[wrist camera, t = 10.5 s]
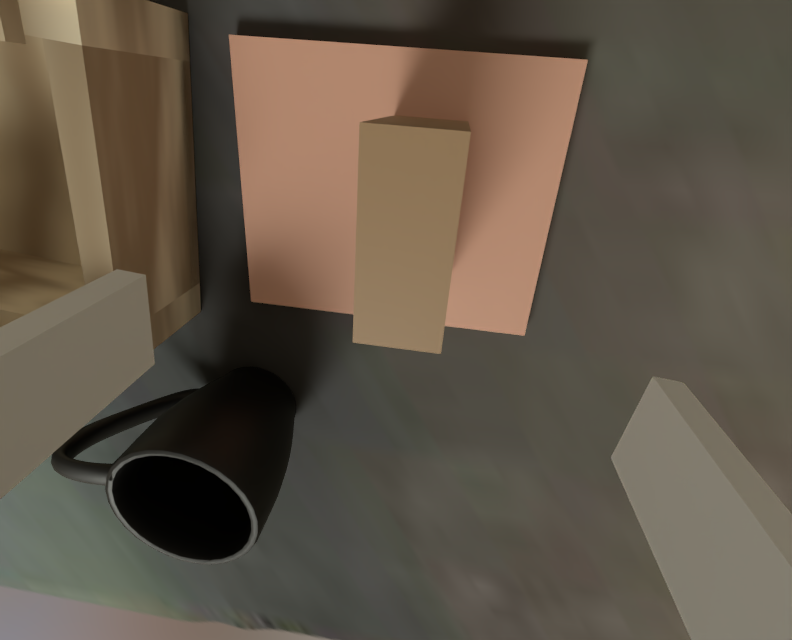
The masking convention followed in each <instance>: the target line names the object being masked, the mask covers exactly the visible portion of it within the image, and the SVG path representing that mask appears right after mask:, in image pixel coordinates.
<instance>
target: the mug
mask: <svg viewBox="0 0 792 640" xmlns="http://www.w3.org/2000/svg"><path fill="white" fill-rule="evenodd" d="M295 413H296V403H295V399H294V396H293V394H292V392H291V390H290V389H289V387H288V386H287V385H286V384H285V382H283V381H282V380H281V379H280V378H279V377H277V376H276V375H274V374H272V373H271V372H269V371H266V370H263V369H260V368H254V367H243V368H239V369H235V370H233V371H231V372H229V373H228V374H226V375H225V376H223V377H221V378H219V379H217V380H215V381H213V382H211V383H209V384H207V385H205V386H204V387H202V388H200V389H190V390H185V391H181V392H177V393H174V394H170V395H167V396H164V397H161V398H158V399H155V400H153V401H150V402H147V403H144V404H141V405H138V406H136V407H133V408H130V409H127V410H125V411H122V412H119V413H117V414H114V415H111V416H109V417H106V418H103V419H101V420H98V421H96V422H94V423H91V424H89V425H87V426H85V427H83V428H81V429H80V430H79V431H78V432H76V433H75V434H74V435H73V436H72V437H71V438H70V439H68V440H67V441H66V442H65V443H64V444H63V445H62V446H60V447H59V448H58V449H57V450H56V451H55V452H54V453H53V454H52V459H51V464H52V466H53V468H54V470H55V471H56V472H58V473H59V474H61V475H62V476H64V477H66V478H69V479H72V480H75V481H79V482H84V483H90V484H96V485H106V489H105V490H106V494H107V498H108V502H109V504H110V506H111V508H112V510H113V512H114V514H115V515H116V517H117V518H118V519H119V520H120V522H121V523H122V524H123V525H124V527H125V528H127V529H128V530H129V531H130V532H131V533H132V534H133V535H134V536H135V537H136V538H138V539H139V540H141V541H142V542H144V543H145V544H147V545H148V546H150V547H151V548H153V549H155V550H157V551H159V552H161V553H163V554H165V555H168V556H171V557H173V558H176V559H179V560H182V561H187V562H192V563H196V564H211V565H212V564H221V563H227V562H230V561H233V560H236V559H239V558H240V557H242V556H243V555H245V554H246V553H248V552H249V551H250V549H251V548H252V547H253V546H254V544H255V543H256V542H257V540H258V538H259V536H260V533H261V531H262V529H263V527H264V525H265V523H266V521H267V519H268V516H269V514H270V512H271V510H272V508H273V505H274V503H275V501H276V499H277V497H278V494H279V491H280V488H281V485H282V482H283V479H284V476H285V473H286V469H287V465H288V461H289V457H290V452H291V446H292V438H293V428H294V417H295ZM155 418H157V419H156V420H155V421H154V422H153V423H152V424H151V425H150V426H149V427H148V428H147V429H146V430H145V431H144V432H143V433H142V434H141V435H140V436H139V437H138V438H137V439H136V440H135V441H134V443H133V444H132V445H131V446H130V447H129V448H128V449H127V450H126V451H125V452H124V453H123V454H122V455H121V456H120V457H119V458H118V459H117V460H116V461H115V462H114V463H113V464H103V463H91V462H84V461H79V460H76V459H73V458H74V457H76V456H77V455H78V454H79V453H81V452H82V451H84V450H85V449H87V448H88V447H90V446H92V445H94V444H96V443H98V442H100V441H102V440H104V439H106V438H108V437H110V436H113V435H115V434H117V433H120V432H122V431H124V430H127V429H129V428H132V427H134V426H137V425H139V424H142V423H144V422H147V421H150V420H152V419H155Z"/></svg>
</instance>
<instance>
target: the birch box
mask: <svg viewBox="0 0 792 640" xmlns="http://www.w3.org/2000/svg"><path fill="white" fill-rule="evenodd" d="M116 269H119V270H124V271H129V272H134V273H139V274H144V275H146V283H147V292H148V302H149V312H150V322H151V331H152V341H153V349H155V348H156V347H157V346H158V345H160V344H161V343H162V342H163V341H165V340H166V339H167V338H168V337H170V336H171V335H172V334H173V333H175V332H176V331H177V330H178V329H180V328H181V327H182V326H183V325H185V324H186V323H187V322H188V321H190V320H191V319H192V318H193V317H195V316H196V315H197V314H198V313H200V312H201V300H200V278H199V255H198V233H197V210H196V188H195V165H194V143H193V120H192V98H191V75H190V53H189V30H188V13H185V12H182V11H179V10H176V9H173V8H170V7H166V6H163V5H160V4H157V3H154V2H151V1H148V0H0V327H2V326H4V325H6V324H8V323H10V322H12V321H14V320H16V319H18V318H20V317H22V316H24V315H26V314H28V313H30V312H32V311H34V310H36V309H38V308H40V307H42V306H44V305H46V304H48V303H50V302H52V301H54V300H56V299H58V298H60V297H62V296H64V295H66V294H68V293H70V292H72V291H74V290H76V289H78V288H80V287H82V286H84V285H86V284H88V283H90V282H92V281H94V280H96V279H98V278H100V277H102V276H104V275H106V274H108V273H110V272H112V271H114V270H116Z"/></svg>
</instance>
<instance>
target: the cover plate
mask: <svg viewBox="0 0 792 640" xmlns="http://www.w3.org/2000/svg"><path fill="white" fill-rule="evenodd" d="M229 43H230V55H231V67H232V79H233V91H234V103H235V115H236V127H237V139H238V151H239V163H240V175H241V186H242V198H243V210H244V222H245V234H246V246H247V258H248V270H249V282H250V294H251V302H258V303H266V304H274V305H282V306H290V307H298V308H306V309H314V310H322V311H330V312H338V313H346V314H354V317H353V343H361V344H368V345H376V346H384V347H391V348H399V349H407V350H415V351H422V352H430V353H438V354H441V349H442V341H443V334H444V327H445V326H450V327H458V328H467V329H475V330H483V331H491V332H499V333H507V334H515V335H523V336H524V335H525V331H526V327H527V322H528V318H529V314H530V309H531V305H532V301H533V296H534V292H535V288H536V283H537V279H538V275H539V270H540V266H541V262H542V257H543V253H544V249H545V244H546V240H547V236H548V231H549V227H550V222H551V218H552V214H553V209H554V205H555V201H556V196H557V192H558V188H559V183H560V179H561V175H562V170H563V166H564V162H565V157H566V153H567V149H568V144H569V140H570V136H571V131H572V127H573V123H574V118H575V114H576V110H577V105H578V101H579V97H580V92H581V88H582V84H583V79H584V75H585V71H586V66H587V62H588V60H584V59H570V58H556V57H542V56H527V55H513V54H499V53H484V52H470V51H456V50H441V49H427V48H413V47H398V46H384V45H370V44H355V43H341V42H327V41H312V40H298V39H284V38H270V37H255V36H241V35H229Z"/></svg>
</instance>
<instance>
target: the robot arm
mask: <svg viewBox="0 0 792 640" xmlns="http://www.w3.org/2000/svg"><path fill="white" fill-rule="evenodd" d="M154 364H155V361H154V351H153V341H152V331H151V322H150V312H149V302H148V292H147V283H146V275H144V274H139V273H134V272H129V271H124V270H119V269H116V270H114V271H112V272H110V273H108V274H106V275H104V276H102V277H100V278H98V279H96V280H94V281H92V282H90V283H88V284H86V285H84V286H82V287H80V288H78V289H76V290H74V291H72V292H70V293H68V294H66V295H64V296H62V297H60V298H58V299H56V300H54V301H52V302H50V303H48V304H46V305H44V306H42V307H40V308H38V309H36V310H34V311H32V312H30V313H28V314H26V315H24V316H22V317H20V318H18V319H16V320H14V321H12V322H10V323H8V324H6V325H4V326H2V327H0V499H1V498H2V497H3V496H5V495H6V494H7V493H8V492H9V491H10V490H11V489H13V488H14V487H15V486H16V485H17V484H18V483H19V482H21V481H22V480H23V479H24V478H25V477H26V476H27V475H28V474H30V473H31V472H32V471H33V470H34V469H35V468H36V467H38V466H39V465H40V464H41V463H42V462H43V461H44V460H46V459H47V458H48V457H49V456H50V455H51V454H52V453H54V452H55V451H56V450H57V449H58V448H59V447H60V446H62V445H63V444H64V443H65V442H66V441H67V440H68V439H70V438H71V437H72V436H73V435H74V434H75V433H76V432H78V431H79V430H80V429H81V428H82V427H83V426H84V425H85V424H87V423H88V422H89V421H90V420H91V419H92V418H93V417H95V416H96V415H97V414H98V413H99V412H100V411H101V410H103V409H104V408H105V407H106V406H107V405H108V404H109V403H111V402H112V401H113V400H114V399H115V398H116V397H117V396H119V395H120V394H121V393H122V392H123V391H124V390H125V389H127V388H128V387H129V386H130V385H131V384H132V383H133V382H135V381H136V380H137V379H138V378H139V377H140V376H141V375H142V374H144V373H145V372H146V371H147V370H148V369H149V368H150V367H152V366H153V365H154ZM611 460H612V462H613V464H614V466H615V469H616V471H617V473H618V475H619V478H620V480H621V482H622V484H623V487H624V489H625V491H626V494H627V496H628V498H629V500H630V503H631V505H632V507H633V509H634V512H635V514H636V516H637V518H638V521H639V523H640V525H641V527H642V530H643V532H644V534H645V536H646V539H647V541H648V543H649V546H650V548H651V550H652V552H653V555H654V557H655V559H656V561H657V564H658V566H659V568H660V570H661V573H662V575H663V577H664V579H665V582H666V584H667V586H668V588H669V591H670V593H671V595H672V598H673V600H674V602H675V604H676V607H677V609H678V611H679V613H680V616H681V618H682V620H683V622H684V625H685V627H686V629H687V631H688V634H689V636H690V638H691V640H792V514H791V513H790V512H789V510H788V509H787V508H786V507H785V506H784V504H783V503H782V502H781V501H780V499H779V498H778V497H777V496H776V495H775V493H774V492H773V491H772V490H771V489H770V487H769V486H768V485H767V484H766V482H765V481H764V480H763V479H762V478H761V476H760V475H759V474H758V473H757V471H756V470H755V469H754V468H753V467H752V465H751V464H750V463H749V462H748V460H747V459H746V458H745V457H744V456H743V454H742V453H741V452H740V451H739V450H738V448H737V447H736V446H735V445H734V443H733V442H732V441H731V440H730V439H729V437H728V436H727V435H726V434H725V432H724V431H723V430H722V429H721V428H720V426H719V425H718V424H717V423H716V421H715V420H714V419H713V418H712V417H711V415H710V414H709V413H708V412H707V411H706V409H705V408H704V407H703V406H702V404H701V403H700V402H699V401H698V400H697V398H696V397H695V396H694V395H693V393H692V392H691V391H690V390H689V389H688V387H687V386H686V385H685V384H684V383H683V382H679V381H674V380H669V379H664V378H659V377H654V376H653V377H652V379H651V381H650V383H649V385H648V387H647V388H646V390H645V392H644V394H643V396H642V398H641V400H640V402H639V404H638V406H637V408H636V410H635V412H634V414H633V416H632V417H631V419H630V421H629V423H628V425H627V427H626V429H625V431H624V433H623V435H622V437H621V439H620V441H619V443H618V445H617V446H616V448H615V450H614V452H613V454H612V456H611Z"/></svg>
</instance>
